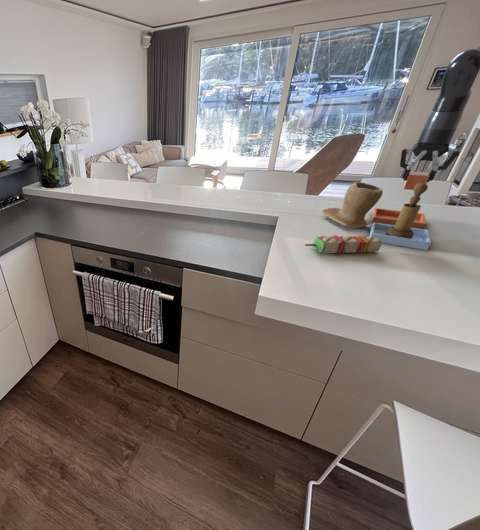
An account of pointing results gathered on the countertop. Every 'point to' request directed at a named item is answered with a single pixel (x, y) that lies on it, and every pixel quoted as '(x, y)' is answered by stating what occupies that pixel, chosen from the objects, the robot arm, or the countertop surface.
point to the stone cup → (355, 205)
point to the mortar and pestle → (408, 215)
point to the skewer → (346, 244)
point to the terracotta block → (415, 179)
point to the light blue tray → (418, 240)
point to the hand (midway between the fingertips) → (415, 180)
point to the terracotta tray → (396, 218)
